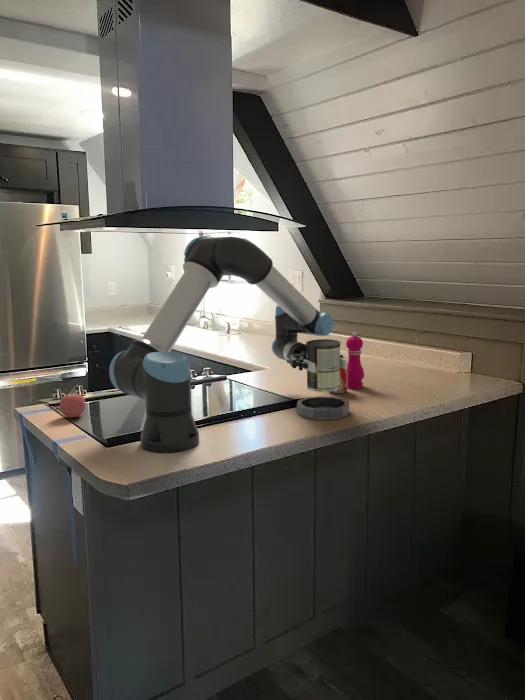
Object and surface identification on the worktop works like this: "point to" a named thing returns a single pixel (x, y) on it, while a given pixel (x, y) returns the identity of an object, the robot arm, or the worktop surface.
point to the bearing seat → (323, 407)
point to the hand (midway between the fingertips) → (330, 366)
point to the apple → (72, 405)
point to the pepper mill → (354, 362)
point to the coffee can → (324, 365)
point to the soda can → (342, 380)
